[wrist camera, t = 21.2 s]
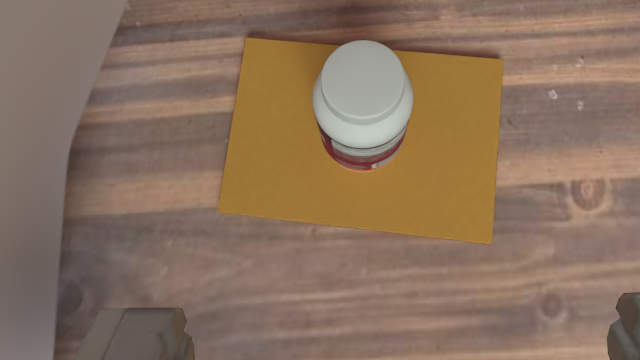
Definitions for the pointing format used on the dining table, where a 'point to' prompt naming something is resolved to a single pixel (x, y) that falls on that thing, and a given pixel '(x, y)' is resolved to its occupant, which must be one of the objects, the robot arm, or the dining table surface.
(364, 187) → the amber mat
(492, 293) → the dining table surface
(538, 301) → the dining table surface
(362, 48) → the pill bottle
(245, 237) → the dining table surface
